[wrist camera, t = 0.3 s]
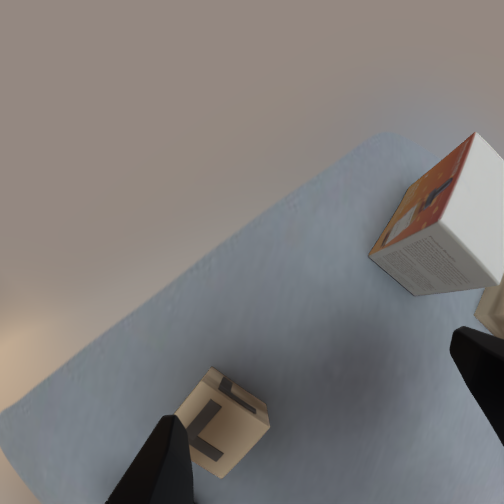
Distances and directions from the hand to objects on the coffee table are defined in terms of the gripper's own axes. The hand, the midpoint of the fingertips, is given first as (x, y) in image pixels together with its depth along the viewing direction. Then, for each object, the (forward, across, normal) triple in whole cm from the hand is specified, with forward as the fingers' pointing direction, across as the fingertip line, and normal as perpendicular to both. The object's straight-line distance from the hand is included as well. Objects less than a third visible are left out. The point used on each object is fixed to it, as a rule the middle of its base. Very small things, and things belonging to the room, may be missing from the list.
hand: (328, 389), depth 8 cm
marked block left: (+10, +6, +11) cm, 16 cm away
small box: (+15, -13, +4) cm, 20 cm away
